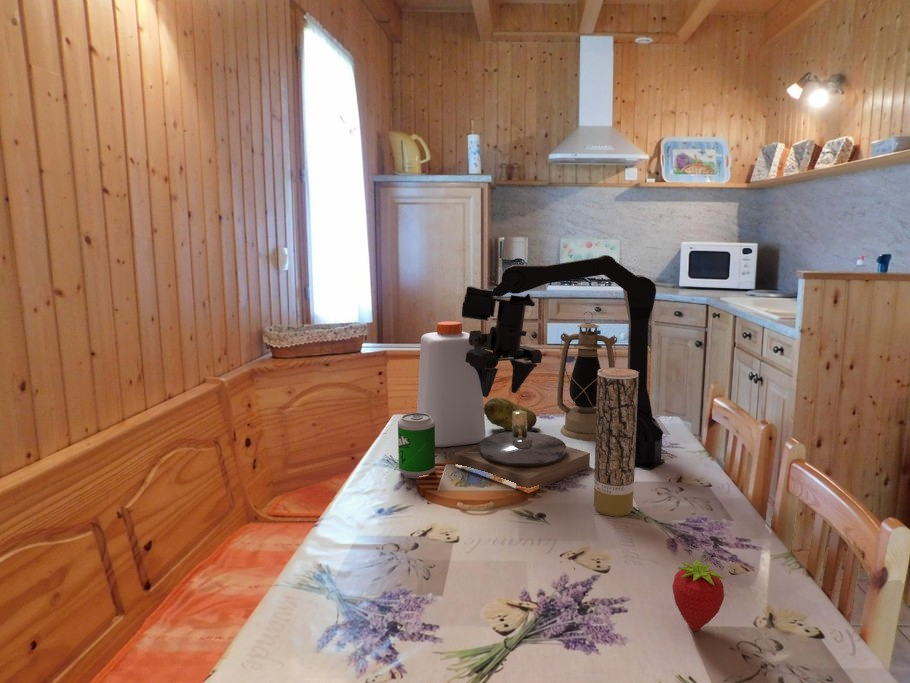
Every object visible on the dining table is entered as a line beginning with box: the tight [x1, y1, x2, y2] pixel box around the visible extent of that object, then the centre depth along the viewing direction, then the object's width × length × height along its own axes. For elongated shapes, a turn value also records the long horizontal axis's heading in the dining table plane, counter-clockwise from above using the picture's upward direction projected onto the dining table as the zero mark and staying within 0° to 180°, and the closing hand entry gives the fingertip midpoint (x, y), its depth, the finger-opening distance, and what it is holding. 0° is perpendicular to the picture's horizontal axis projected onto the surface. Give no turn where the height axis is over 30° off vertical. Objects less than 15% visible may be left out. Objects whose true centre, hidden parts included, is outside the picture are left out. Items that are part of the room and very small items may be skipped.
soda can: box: [397, 412, 436, 479], centre depth 129 cm, size 8×8×12 cm
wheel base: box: [454, 444, 591, 490], centre depth 133 cm, size 20×20×3 cm
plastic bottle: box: [416, 320, 487, 448], centre depth 151 cm, size 15×15×28 cm
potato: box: [484, 397, 538, 432], centre depth 158 cm, size 8×13×8 cm, turn 74°
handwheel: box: [479, 410, 567, 467], centre depth 132 cm, size 18×18×6 cm
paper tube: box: [593, 367, 639, 517], centre depth 110 cm, size 7×7×25 cm
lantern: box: [556, 311, 618, 441], centre depth 154 cm, size 14×12×30 cm
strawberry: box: [671, 556, 726, 632], centre depth 77 cm, size 6×8×10 cm
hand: (499, 394), depth 137 cm, fingers open, 9 cm apart
